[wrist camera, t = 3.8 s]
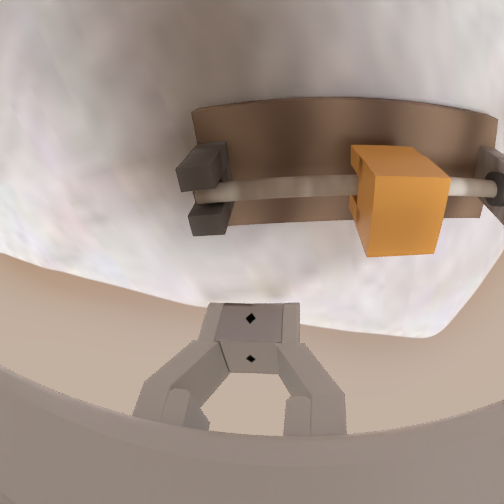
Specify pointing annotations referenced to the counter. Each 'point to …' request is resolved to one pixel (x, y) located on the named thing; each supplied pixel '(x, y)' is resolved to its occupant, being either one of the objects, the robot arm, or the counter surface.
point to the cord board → (327, 158)
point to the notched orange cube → (397, 200)
